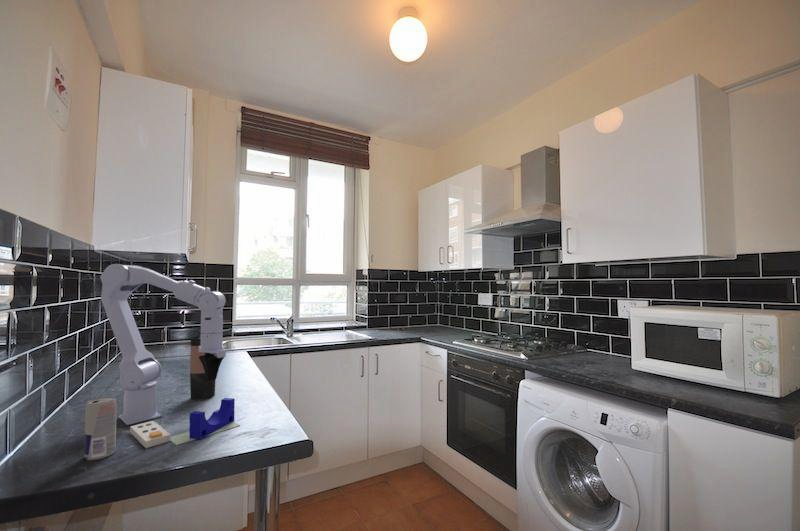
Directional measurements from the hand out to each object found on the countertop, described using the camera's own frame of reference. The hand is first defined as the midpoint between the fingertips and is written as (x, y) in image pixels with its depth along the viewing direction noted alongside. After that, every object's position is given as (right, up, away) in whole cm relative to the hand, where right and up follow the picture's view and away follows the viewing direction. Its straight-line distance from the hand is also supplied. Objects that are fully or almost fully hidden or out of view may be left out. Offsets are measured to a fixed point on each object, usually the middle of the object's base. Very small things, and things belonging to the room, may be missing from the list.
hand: (211, 379), depth 104 cm
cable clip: (+6, -9, -11) cm, 16 cm away
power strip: (-7, -9, -15) cm, 19 cm away
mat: (+5, -9, -13) cm, 17 cm away
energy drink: (-12, -9, -25) cm, 29 cm away
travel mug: (-12, -11, +16) cm, 23 cm away
